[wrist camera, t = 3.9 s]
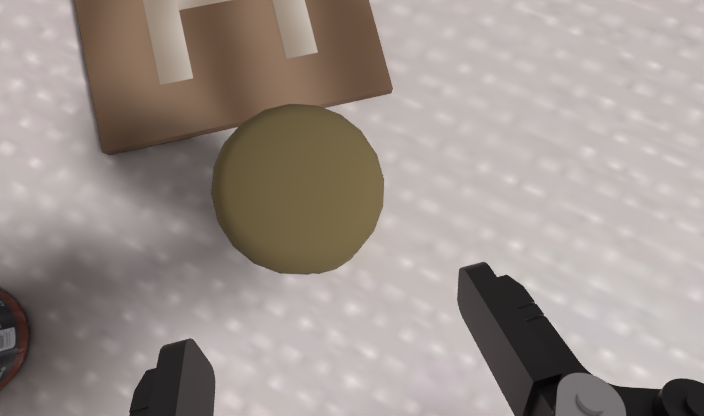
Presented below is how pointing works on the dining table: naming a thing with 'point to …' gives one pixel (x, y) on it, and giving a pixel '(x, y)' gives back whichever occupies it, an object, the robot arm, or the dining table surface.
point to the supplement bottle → (11, 337)
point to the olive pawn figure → (297, 189)
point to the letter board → (221, 62)
